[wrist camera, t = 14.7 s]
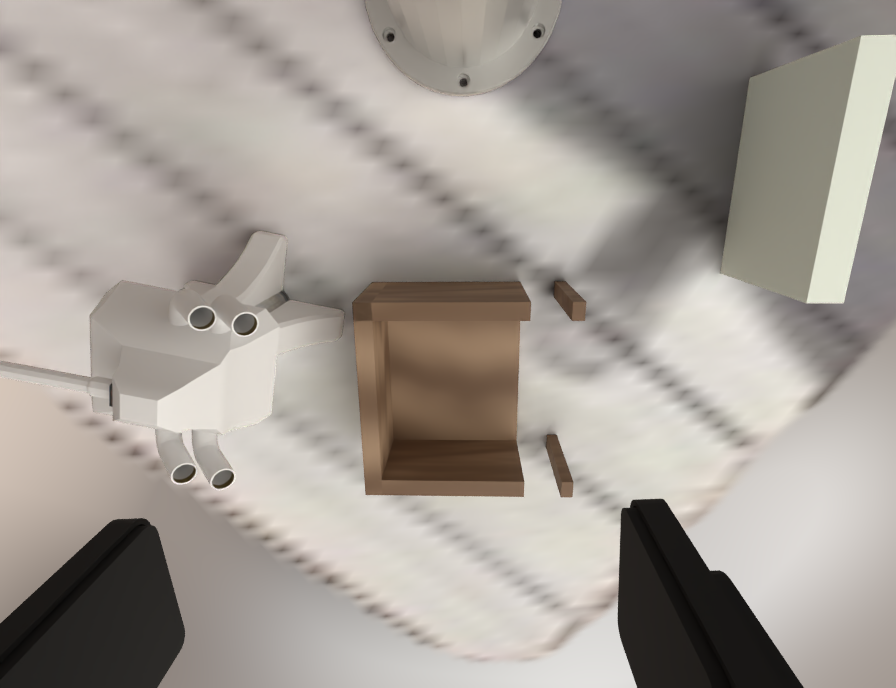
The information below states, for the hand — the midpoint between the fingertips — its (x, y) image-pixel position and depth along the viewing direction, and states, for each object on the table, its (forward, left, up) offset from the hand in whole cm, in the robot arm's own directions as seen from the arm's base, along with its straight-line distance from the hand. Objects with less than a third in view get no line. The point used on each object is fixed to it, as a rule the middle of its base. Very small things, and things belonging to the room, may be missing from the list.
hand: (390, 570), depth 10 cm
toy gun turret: (+2, -15, -30) cm, 33 cm away
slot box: (+7, +1, -30) cm, 30 cm away
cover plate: (-7, +21, -30) cm, 37 cm away
